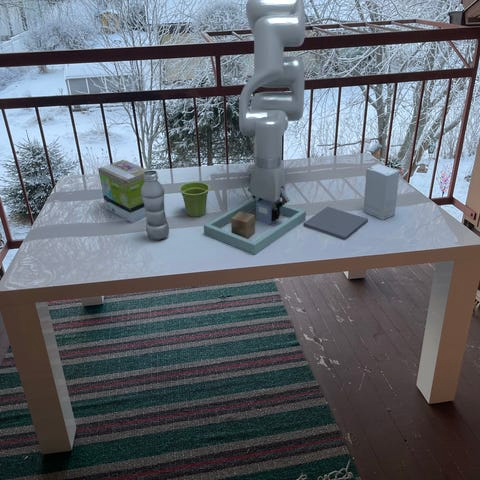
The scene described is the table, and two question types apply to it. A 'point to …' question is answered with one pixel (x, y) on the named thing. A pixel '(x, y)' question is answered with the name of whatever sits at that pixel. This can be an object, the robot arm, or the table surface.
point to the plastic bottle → (154, 206)
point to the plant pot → (195, 197)
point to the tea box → (123, 189)
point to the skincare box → (381, 191)
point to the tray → (262, 242)
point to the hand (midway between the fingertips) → (267, 216)
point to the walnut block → (243, 224)
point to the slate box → (264, 211)
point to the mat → (335, 223)
